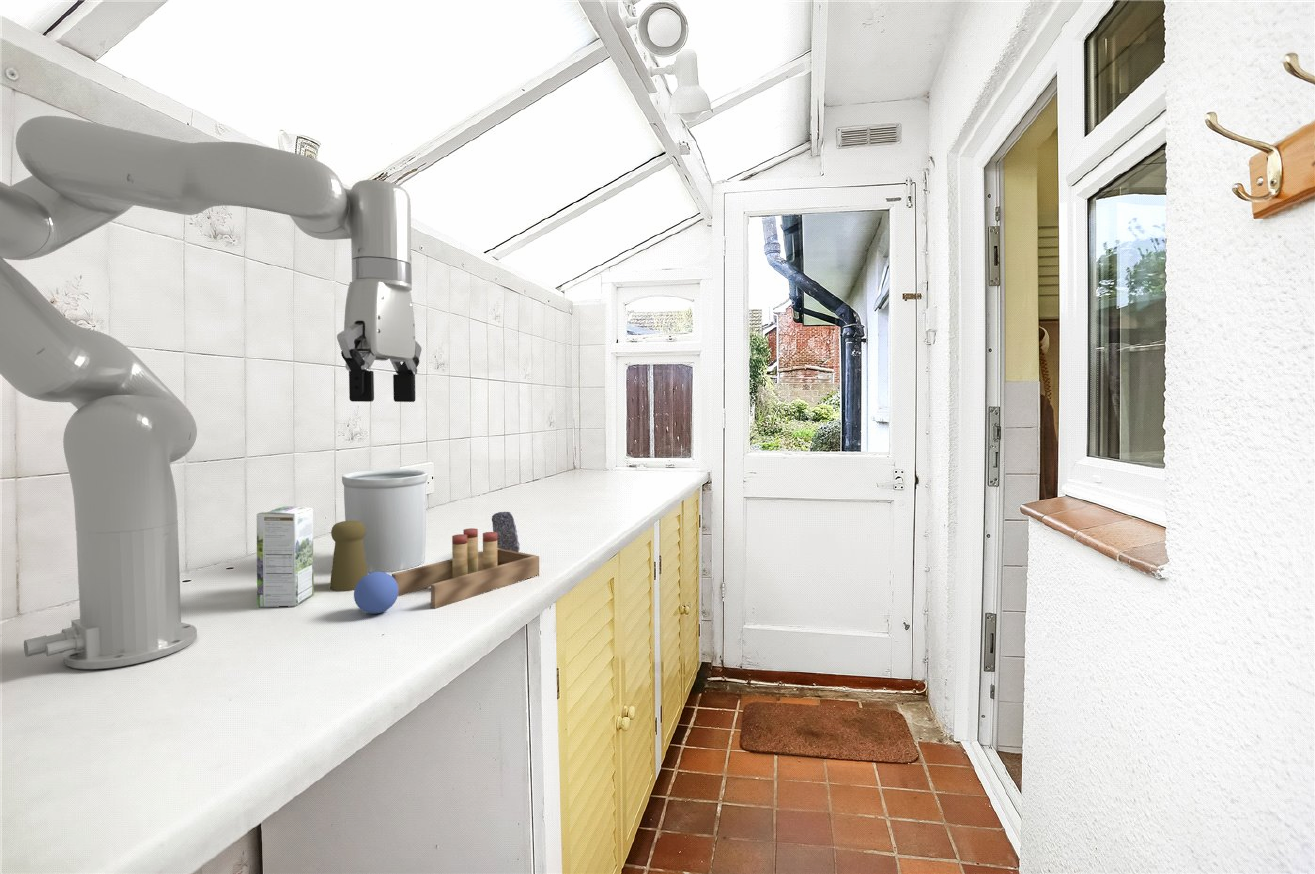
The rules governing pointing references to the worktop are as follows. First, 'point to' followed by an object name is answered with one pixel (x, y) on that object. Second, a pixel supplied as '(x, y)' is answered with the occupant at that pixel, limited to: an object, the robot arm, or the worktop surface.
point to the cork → (348, 555)
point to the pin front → (459, 555)
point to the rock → (505, 531)
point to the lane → (467, 577)
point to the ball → (376, 592)
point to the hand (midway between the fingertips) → (384, 401)
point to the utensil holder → (389, 516)
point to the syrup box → (284, 556)
